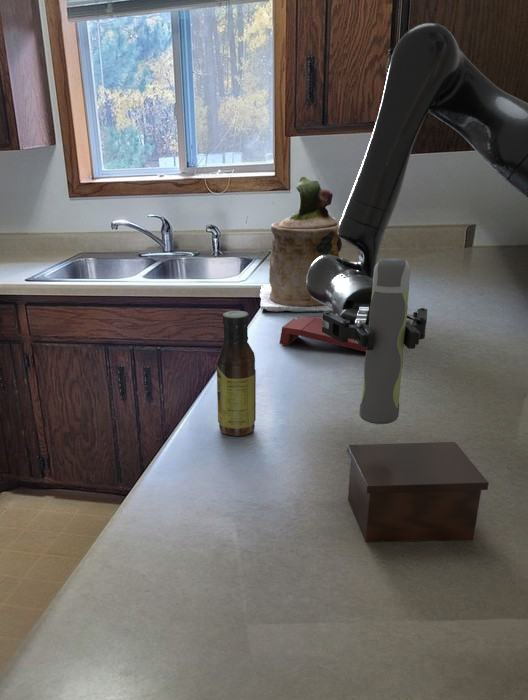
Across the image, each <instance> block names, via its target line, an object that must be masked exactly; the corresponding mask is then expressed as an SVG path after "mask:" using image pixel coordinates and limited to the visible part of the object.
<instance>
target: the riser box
mask: <svg viewBox="0 0 528 700" xmlns="http://www.w3.org/2000/svg"><path fill="white" fill-rule="evenodd" d="M346 453H347V455H348V457H349V459H350V464H349V465H350V466H349V477H348V480H349V481H348V493H347V501H348V504H349V506H350V508H351V511H352V513H353V516H354V518H355V520H356V522H357V525H358V528H359V530H360V532H361V535H362V537H363V539H364V542H365V543H387V542H388V543H390V542H391V543H392V542H429V541H432V542H433V541H434V542H435V541H466V540H467V541H468V540H474V537H475V531H476V526H477V518H478V512H479V506H480V500H481V495H482V491H487V490H488V489H489V481H488V480H487V478H485V476H484V475H483V474H482V472H481V471H480V470H479V469H478V468H477V466H476V465H475V464H474V463H473V462H472V460H471V459H470V458H469V457H468V456H467V455H466V453H465V452H464V451H463V450H462V448H461V447H460V446H459V444H457V442H456V441H437V442H403V443H399V442H398V443H371V444H370V443H369V444H347V446H346Z"/></svg>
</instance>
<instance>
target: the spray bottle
mask: <svg viewBox="0 0 528 700" xmlns="http://www.w3.org/2000/svg"><path fill="white" fill-rule="evenodd" d="M410 278H411V266H410V263H409V262H408V261H407V260H406V259H404V258H399V257H385V258H381V259H380V260H379V261H377V264H376V265H375V268H374V276H373V287H372V298H371V304H370V314H369V327H370V328H371V329H372V331H373V332H374V346H373V350H366V352H365V355H364V357H365V358H364V367H363V382H362V392H361V401H360V403H359V413H358V414H359V417H360V418H361V419H362V420H363V421H364V422H367V423H369V424H374V425H387V424H392V423H393V422H395V421H397V419H398V418H399V415H400V394H401V382H402V371H403V366H404V365H403V364H404V348H405V345H404V339H405V327H406V317H407V314H408V309H409V305H408V303H409V291H410Z"/></svg>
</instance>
